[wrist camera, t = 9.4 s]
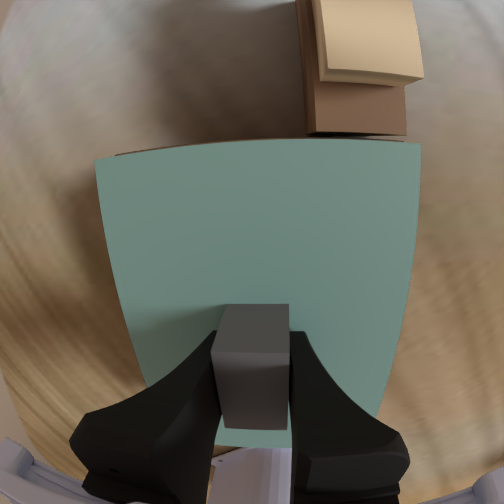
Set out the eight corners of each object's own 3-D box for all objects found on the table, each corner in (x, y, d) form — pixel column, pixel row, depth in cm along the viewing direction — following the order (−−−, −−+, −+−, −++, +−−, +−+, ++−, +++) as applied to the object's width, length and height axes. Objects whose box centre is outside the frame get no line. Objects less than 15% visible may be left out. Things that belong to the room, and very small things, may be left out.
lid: (364, 431, 15) (373, 483, 12) (171, 426, 17) (153, 475, 13) (409, 143, 10) (464, 148, 6) (107, 157, 11) (43, 170, 8)
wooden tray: (354, 380, 20) (365, 434, 15) (189, 379, 21) (170, 429, 16) (362, 4, 11) (388, -37, 7) (146, 20, 13) (103, -10, 8)
